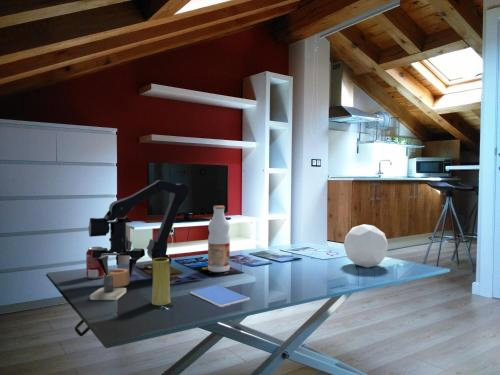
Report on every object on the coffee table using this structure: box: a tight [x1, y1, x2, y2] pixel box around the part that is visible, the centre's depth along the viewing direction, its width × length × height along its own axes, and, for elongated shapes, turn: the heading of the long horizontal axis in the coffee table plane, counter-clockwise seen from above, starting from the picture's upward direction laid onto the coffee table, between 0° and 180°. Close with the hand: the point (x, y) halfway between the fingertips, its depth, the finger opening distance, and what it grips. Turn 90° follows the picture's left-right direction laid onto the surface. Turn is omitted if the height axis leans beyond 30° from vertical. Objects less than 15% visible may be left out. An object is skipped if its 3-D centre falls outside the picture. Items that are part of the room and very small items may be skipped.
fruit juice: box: [207, 205, 231, 273], centre depth 174 cm, size 9×9×28 cm
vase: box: [151, 258, 172, 307], centre depth 130 cm, size 6×6×14 cm
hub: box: [107, 268, 130, 288], centre depth 151 cm, size 7×7×5 cm
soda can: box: [85, 246, 105, 280], centre depth 161 cm, size 7×7×12 cm
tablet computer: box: [189, 285, 251, 308], centre depth 137 cm, size 19×13×1 cm, turn 40°
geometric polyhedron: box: [343, 223, 389, 269], centre depth 183 cm, size 19×20×20 cm
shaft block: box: [89, 275, 127, 301], centre depth 137 cm, size 9×9×6 cm
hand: (118, 275), depth 151 cm, fingers open, 9 cm apart
